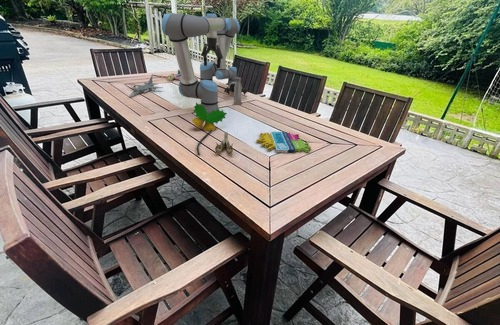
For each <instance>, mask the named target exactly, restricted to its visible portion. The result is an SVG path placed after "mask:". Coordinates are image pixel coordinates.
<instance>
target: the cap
mask: <svg viewBox="0 0 500 325" xmlns="http://www.w3.org/2000/svg"><path fill="white" fill-rule="evenodd" d="M236 81H237V82H241V83H242V77H238V76H237V77H236Z"/></svg>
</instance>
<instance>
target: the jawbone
mask: <svg viewBox="0 0 500 325" xmlns="http://www.w3.org/2000/svg"><path fill="white" fill-rule="evenodd" d="M223 135H224V136H223V140H222V139H221V142H220V144H218V142H215V144H216V146H215V148H214V149H215V152H214V154H215V155H217V156H218V155H220V153H221V152H223V151H224V150H226V152H227V153H228V155H229V156H233V155H234V154H233V153H234V148H233V144H234V143H230V140H228V139H229V138H228V137H229V136H228V135H229V133H228V131H226V132H224V134H223Z"/></svg>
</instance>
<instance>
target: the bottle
mask: <svg viewBox="0 0 500 325" xmlns="http://www.w3.org/2000/svg"><path fill="white" fill-rule="evenodd" d="M242 88H243V85H242V81H241V82H237V81H236V84H235V86H234V92H233V105H235V106H240V105H242V97H243V96H242V95H243V92H242Z"/></svg>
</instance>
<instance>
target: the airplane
mask: <svg viewBox="0 0 500 325" xmlns="http://www.w3.org/2000/svg"><path fill="white" fill-rule="evenodd" d="M153 75H154V74H151V76H150V78H149V80H148V81H147V82H146V81H144V82H143V85H142V84H134V83H129V84H128V85H130V86H132V87H131V89H133V91H132V92H131V93H130V94H129V95H128V96H127V98H129V97H130V98H131V97H135V96H137V95H139V94H141V93H148V92H150V91H151V90H152V92H154V91H156V90H157V89H163V88H164V87H162V86H157V85H158V83H154V82H153V78H154V76H153ZM155 85H156V86H155Z"/></svg>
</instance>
